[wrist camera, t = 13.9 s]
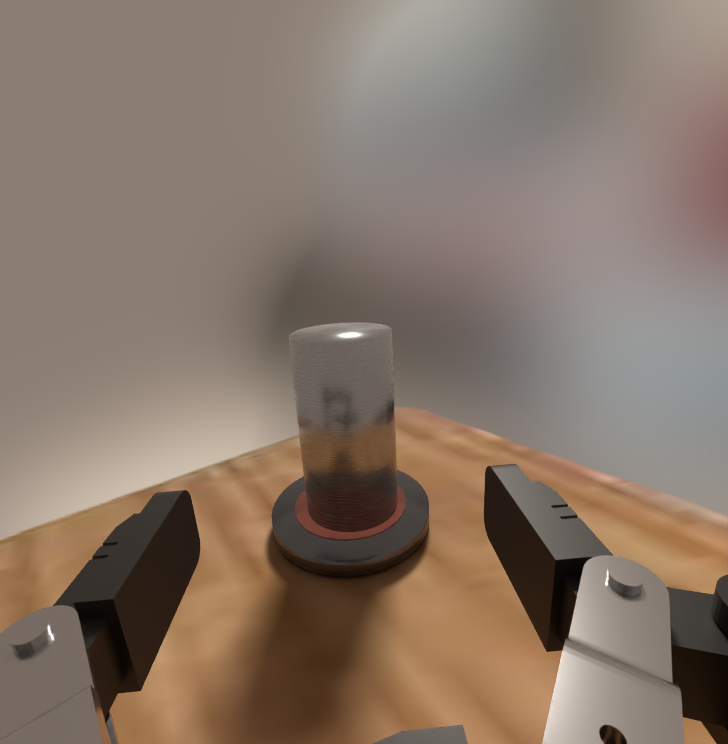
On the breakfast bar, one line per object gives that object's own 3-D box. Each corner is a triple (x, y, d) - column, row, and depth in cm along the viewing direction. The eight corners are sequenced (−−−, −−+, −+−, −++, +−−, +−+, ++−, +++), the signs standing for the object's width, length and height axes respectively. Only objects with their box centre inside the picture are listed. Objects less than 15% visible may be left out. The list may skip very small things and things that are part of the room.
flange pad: (260, 584, 20) (257, 565, 19) (284, 482, 28) (282, 467, 28) (446, 567, 20) (446, 548, 20) (414, 471, 29) (413, 457, 28)
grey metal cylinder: (303, 536, 21) (282, 347, 18) (310, 481, 26) (294, 326, 23) (404, 527, 21) (398, 339, 18) (391, 474, 26) (385, 320, 23)
